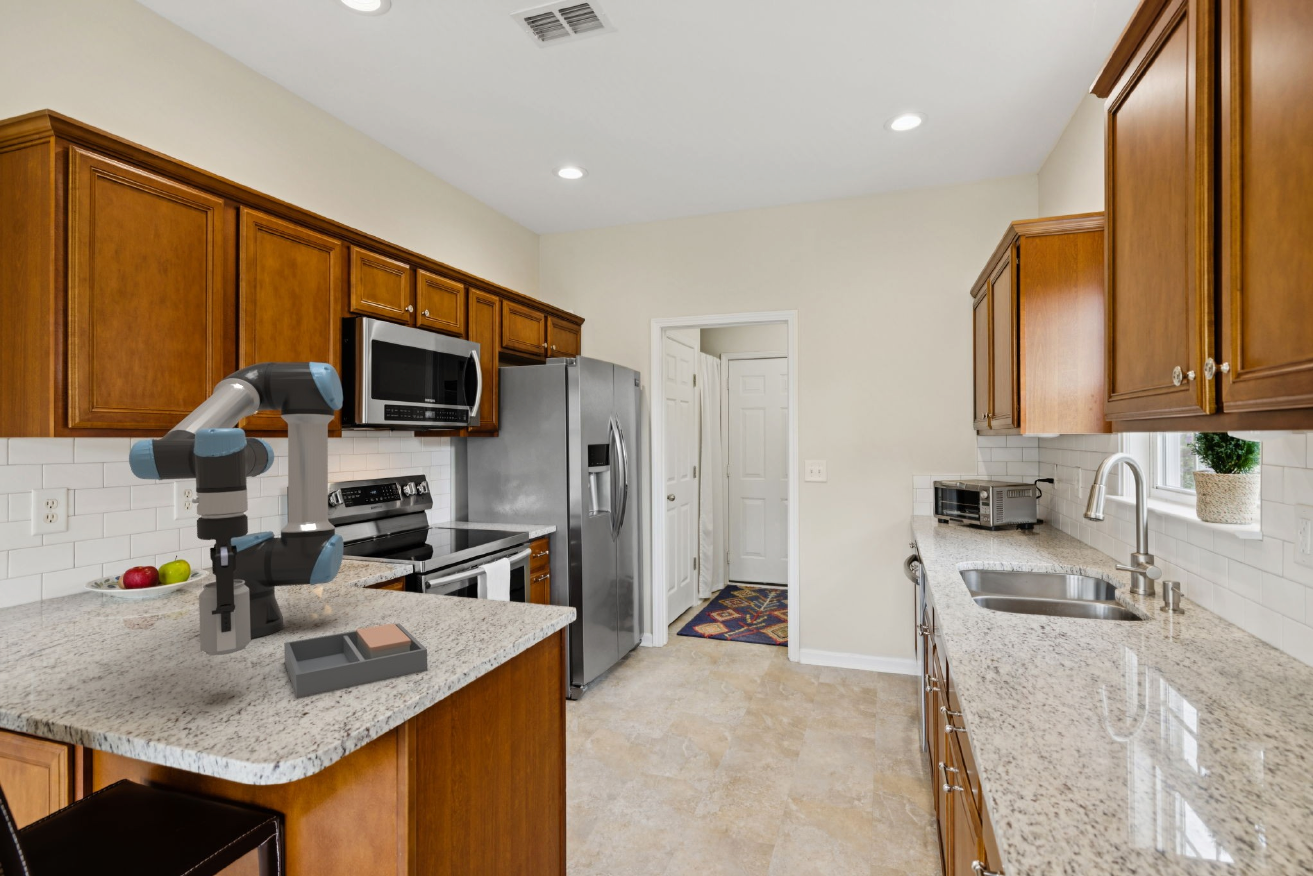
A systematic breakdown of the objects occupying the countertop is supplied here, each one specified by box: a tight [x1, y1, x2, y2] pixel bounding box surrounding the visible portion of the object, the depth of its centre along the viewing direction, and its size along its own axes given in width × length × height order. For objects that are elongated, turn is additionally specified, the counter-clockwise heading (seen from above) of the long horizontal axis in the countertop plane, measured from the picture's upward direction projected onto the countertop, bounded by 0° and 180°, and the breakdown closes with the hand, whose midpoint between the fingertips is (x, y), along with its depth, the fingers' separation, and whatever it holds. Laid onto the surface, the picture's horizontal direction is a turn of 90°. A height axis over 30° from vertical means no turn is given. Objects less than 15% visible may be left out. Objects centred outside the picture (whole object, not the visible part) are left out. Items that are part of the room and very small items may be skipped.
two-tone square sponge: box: [355, 623, 411, 660], centre depth 130 cm, size 14×7×5 cm, turn 35°
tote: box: [283, 623, 428, 699], centre depth 127 cm, size 22×22×5 cm
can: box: [198, 580, 252, 656], centre depth 115 cm, size 8×8×12 cm
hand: (226, 642), depth 116 cm, fingers closed on can, 7 cm apart
